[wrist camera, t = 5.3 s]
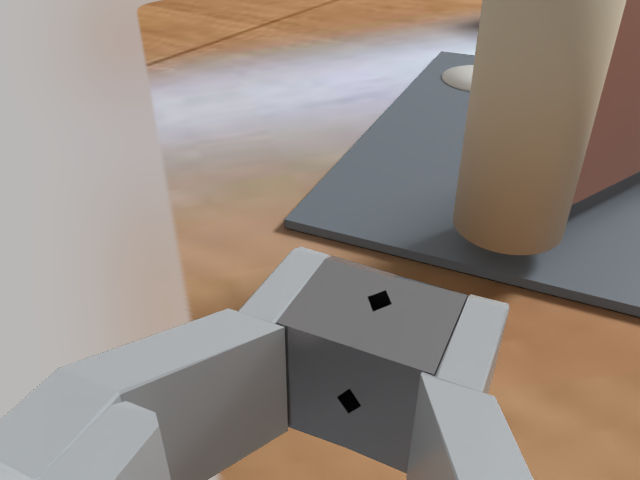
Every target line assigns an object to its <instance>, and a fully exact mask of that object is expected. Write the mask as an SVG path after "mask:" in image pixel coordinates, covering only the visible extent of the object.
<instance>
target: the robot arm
mask: <svg viewBox="0 0 640 480" xmlns="http://www.w3.org/2000/svg"><path fill="white" fill-rule="evenodd" d="M508 312H509V305H508V303H504V302H500V301H496V300H492V299H488V298H484V297H480V296H476V295H472V294H471V295H467V294H463V293H460V292H456V291H452V290H449V289H445V288H441V287H438V286H434V285H430V284H427V283H423V282H419V281H416V280H412V279H408V278H405V277H401V276H398V275H395V274H392V273H389V272H385V271H382V270H379V269H376V268H372V267H369V266H366V265H362V264H359V263H356V262H352V261H349V260H346V259H342V258H339V257H336V256H330V255H328V254H324V253H321V252H317V251H314V250H310V249H307V248H304V247H298V248H295V249H293V250H292V251H291V252H290V253H289V254H288V255H287V256H286V257H285V259H284V260H283V261H282V262H281V263H280V264H279V265H278V266H277V268H276V269H275V270H274V271H273V272H272V273H271V274H270V276H269V277H268V278H267V279H266V280H265V281H264V282H263V283H262V285H261V286H260V287H259V288H258V289H257V290H256V291H255V293H254V294H253V295H252V296H251V297H250V298H249V299H248V300H247V302H246V303H245V304H244V305H243V306H242V307H241V308H240V309H239V311H235V310H232V309H229V308H228V309H226V310H223V311H220V312H217V313H214V314H211V315H208V316H206V317H203V318H200V319H197V320H194V321H191V322H188V323H186V324H183V325H180V326H177V327H175V328H172V329H169V330H166V331H163V332H160V333H157V334H154V335H151V336H149V337H146V338H143V339H140V340H137V341H135V342H131V343H129V344H126V345H123V346H120V347H117V348H114V349H111V350H109V351H106V352H103V353H100V354H97V355H94V356H91V357H89V358H86V359H83V360H80V361H77V362H75V363H71V364H69V365H66V366H63V367H60V368H58V369H57V370H55V371H54V372H53V373H52V374H51V375H50V376H49V377H48V378H46V379H45V380H44V381H43V382H42V383H41V384H40V385H39V386H37V387H36V388H35V389H34V390H33V391H32V392H31V393H30V394H28V395H27V396H26V397H25V398H24V399H23V400H22V401H20V402H19V403H18V404H17V405H16V406H15V407H14V408H13V409H11V410H10V411H9V412H8V413H7V414H6V415H5V416H4V417H2V418H1V419H0V480H208V479H210V478H211V477H213V476H215V475H216V474H218V473H219V472H221V471H223V470H224V469H226V468H228V467H229V466H231V465H233V464H234V463H236V462H237V461H239V460H241V459H242V458H244V457H246V456H247V455H249V454H251V453H252V452H254V451H255V450H257V449H259V448H260V447H262V446H264V445H265V444H267V443H268V442H270V441H272V440H273V439H275V438H277V437H278V436H280V435H282V434H283V433H285V432H286V431H288V427H290V428H293V429H296V430H299V431H301V432H304V433H307V434H310V435H312V436H315V437H318V438H321V439H323V440H326V441H329V442H332V443H335V444H337V445H340V446H343V447H346V448H348V449H350V450H353V451H355V452H357V453H360V454H362V455H364V456H367V457H369V458H372V459H374V460H376V461H379V462H381V463H383V464H386V465H388V466H390V467H393V468H395V469H398V470H400V471H402V472H405V473H407V475H406V478H407V480H533V477H532V475H531V473H530V471H529V469H528V467H527V464H526V462H525V460H524V458H523V456H522V454H521V452H520V449H519V447H518V445H517V443H516V441H515V439H514V436H513V434H512V432H511V430H510V428H509V426H508V423H507V421H506V419H505V417H504V415H503V413H502V411H501V408H500V406H499V404H498V402H497V400H496V398H495V397H494V396H492V395H489V394H488V393H489V389H490V385H491V381H492V377H493V373H494V369H495V365H496V361H497V357H498V353H499V349H500V345H501V341H502V337H503V333H504V329H505V325H506V321H507V317H508Z"/></svg>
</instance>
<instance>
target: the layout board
mask: <svg viewBox="0 0 640 480" xmlns="http://www.w3.org/2000/svg"><path fill="white" fill-rule="evenodd" d="M474 60H475V56H474V55H466V54H458V53H450V52H442V51H441V52H440V54H439V55H438V56H437V57H436V58H435V59H434V60H433V61H432V62H431V63H430V64H429V65H428V66H427V67H426V68H425V70H424V71H423V72H422V73H421V74H420V75H419V76H418V77H417V78H416V79H415V80H414V81H413V82H412V83H411V85H410V86H409V87H408V88H407V89H406V90H405V91H404V92H403V93H402V94H401V95H400V96H399V97H398V98H397V100H396V101H395V102H394V103H393V104H392V105H391V106H390V107H389V108H388V109H387V110H386V111H385V112H384V113H383V115H382V116H381V117H380V118H379V119H378V120H377V121H376V122H375V123H374V124H373V125H372V126H371V127H370V128H369V130H368V131H367V132H366V133H365V134H364V135H363V136H362V137H361V138H360V139H359V140H358V141H357V142H356V143H355V144H354V146H353V147H352V148H351V149H350V150H349V151H348V152H347V153H346V154H345V155H344V156H343V157H342V158H341V159H340V161H339V162H338V163H337V164H336V165H335V166H334V167H333V168H332V169H331V170H330V171H329V172H328V173H327V174H326V176H325V177H324V178H323V179H322V180H321V181H320V182H319V183H318V184H317V185H316V186H315V187H314V188H313V189H312V191H311V192H310V193H309V194H308V195H307V196H306V197H305V198H304V199H303V200H302V201H301V202H300V203H299V204H298V205H297V207H296V208H295V209H294V210H293V211H292V212H291V213H290V214H289V215H288V216H287V217H286V218H285V228H289V229H293V230H297V231H301V232H305V233H309V234H313V235H316V236H320V237H324V238H328V239H332V240H336V241H340V242H344V243H348V244H352V245H356V246H360V247H364V248H368V249H372V250H376V251H380V252H384V253H388V254H392V255H396V256H400V257H404V258H408V259H412V260H416V261H420V262H424V263H428V264H432V265H435V266H439V267H443V268H447V269H451V270H455V271H459V272H463V273H467V274H471V275H475V276H479V277H483V278H487V279H491V280H495V281H499V282H503V283H507V284H511V285H515V286H519V287H523V288H527V289H531V290H535V291H539V292H543V293H547V294H551V295H554V296H558V297H562V298H566V299H570V300H574V301H578V302H582V303H586V304H590V305H594V306H598V307H602V308H606V309H610V310H614V311H618V312H622V313H626V314H630V315H634V316H638V317H640V172H638V173H636V174H634V175H632V176H630V177H628V178H626V179H624V180H622V181H620V182H618V183H615V184H613V185H611V186H609V187H607V188H605V189H603V190H601V191H599V192H597V193H595V194H593V195H591V196H589V197H587V198H585V199H583V200H581V201H579V202H577V203H575V204H573V205H572V206H571V210H570V213H569V217H568V221H567V225H566V228H565V232H564V236H563V239H562V240H561V242H560V243H559V244H558V245H557V246H556V247H554V248H553V249H551V250H549V251H546V252H543V253H539V254H533V255H509V254H502V253H497V252H493V251H490V250H487V249H484V248H481V247H479V246H477V245H475V244H473V243H471V242H469V241H468V240H467V239H465V238H464V237H463V236H462V235H460V233H459V232H458V231H457V230H456V228H455V226H454V224H453V212H454V205H455V198H456V190H457V183H458V176H459V169H460V161H461V154H462V147H463V140H464V132H465V125H466V118H467V111H468V103H469V96H470V89H471V81H472V74H473V67H474Z"/></svg>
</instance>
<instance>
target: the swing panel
mask: <svg viewBox="0 0 640 480" xmlns="http://www.w3.org/2000/svg"><path fill="white" fill-rule="evenodd" d="M638 172H640V0H483V1H482V9H481V16H480V23H479V31H478V38H477V45H476V52H475V60H474V67H473V74H472V81H471V89H470V96H469V103H468V111H467V118H466V125H465V132H464V140H463V147H462V154H461V161H460V169H459V176H458V183H457V190H456V198H455V205H454V212H453V224H454V226H455V228H456V230H457V231H458V232H459V233H460V235H462V236H463V237H464V238H465V239H467V240H468V241H469V242H471V243H473V244H475V245H477V246H479V247H481V248H484V249H487V250H490V251H493V252H497V253H502V254H509V255H533V254H539V253H543V252H546V251H549V250H551V249H553V248H554V247H556V246H557V245H558V244H559V243H560V242H561V240H562V239H563V236H564V232H565V228H566V225H567V221H568V217H569V213H570V210H571V206H572V205H573V204H575V203H577V202H579V201H581V200H583V199H585V198H587V197H589V196H591V195H593V194H595V193H597V192H599V191H601V190H603V189H605V188H607V187H609V186H611V185H613V184H615V183H618V182H620V181H622V180H624V179H626V178H628V177H630V176H632V175H634V174H636V173H638Z"/></svg>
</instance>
